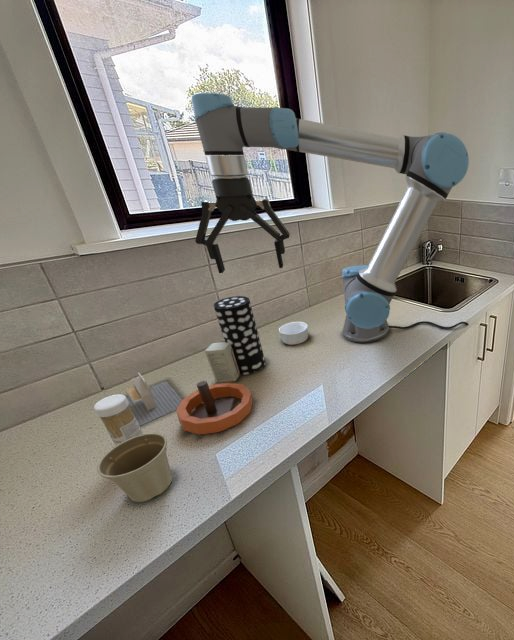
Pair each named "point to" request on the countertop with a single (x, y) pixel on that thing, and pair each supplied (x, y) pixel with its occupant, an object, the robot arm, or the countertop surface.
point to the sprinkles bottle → (118, 418)
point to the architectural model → (151, 400)
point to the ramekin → (294, 332)
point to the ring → (220, 421)
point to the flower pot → (138, 466)
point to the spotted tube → (240, 332)
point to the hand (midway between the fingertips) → (252, 269)
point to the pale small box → (222, 362)
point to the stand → (211, 403)
